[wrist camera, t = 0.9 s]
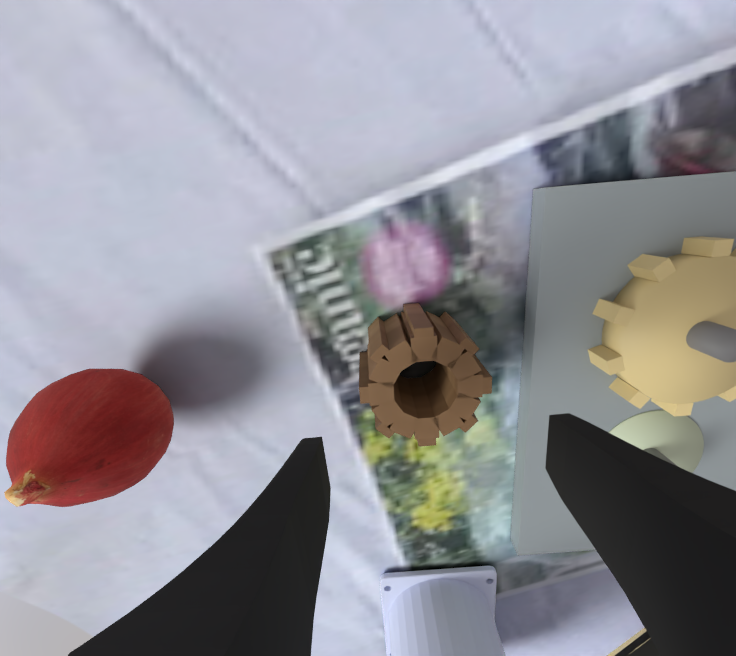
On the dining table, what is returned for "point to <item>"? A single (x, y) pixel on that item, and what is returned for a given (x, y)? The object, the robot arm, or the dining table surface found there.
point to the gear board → (566, 327)
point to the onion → (87, 438)
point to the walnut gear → (427, 393)
